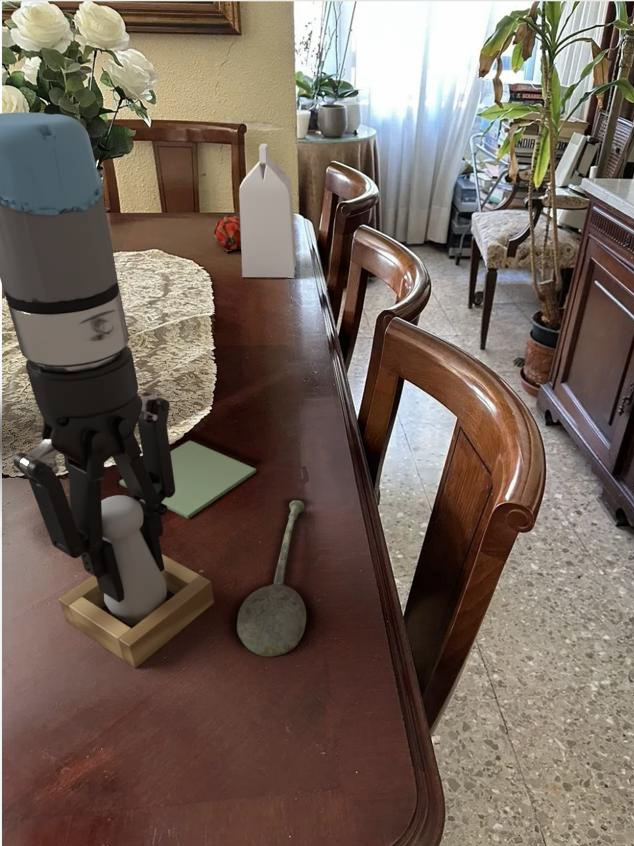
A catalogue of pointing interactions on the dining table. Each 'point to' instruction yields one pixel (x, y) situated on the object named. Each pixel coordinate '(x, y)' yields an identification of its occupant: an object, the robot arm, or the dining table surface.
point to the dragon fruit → (228, 233)
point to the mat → (201, 477)
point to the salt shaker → (131, 561)
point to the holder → (151, 632)
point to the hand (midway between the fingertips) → (132, 579)
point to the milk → (267, 220)
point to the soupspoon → (274, 608)
